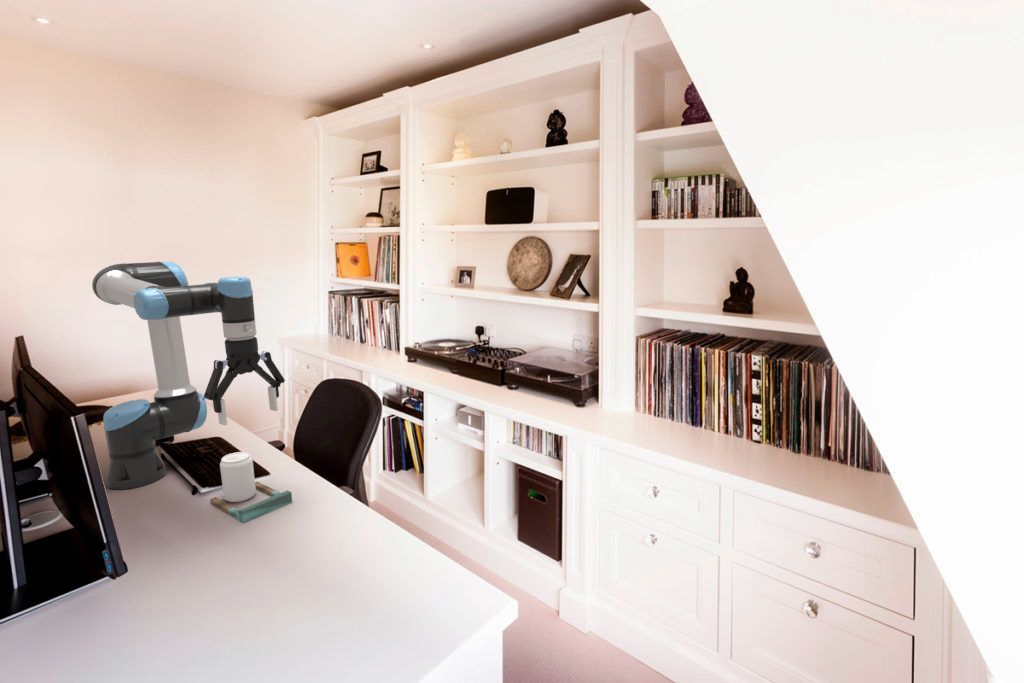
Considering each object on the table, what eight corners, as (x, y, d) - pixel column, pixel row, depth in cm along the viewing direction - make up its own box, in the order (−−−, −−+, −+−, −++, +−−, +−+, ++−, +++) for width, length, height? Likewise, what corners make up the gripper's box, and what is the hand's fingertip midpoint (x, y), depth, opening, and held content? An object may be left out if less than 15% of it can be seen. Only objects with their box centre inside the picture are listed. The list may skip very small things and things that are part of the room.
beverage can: (243, 505, 148) (238, 463, 146) (217, 502, 150) (212, 461, 148) (262, 491, 156) (258, 452, 154) (237, 489, 158) (233, 450, 156)
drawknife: (210, 503, 150) (209, 493, 149) (258, 485, 160) (257, 475, 160) (243, 523, 139) (242, 512, 138) (292, 502, 150) (291, 492, 149)
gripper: (196, 347, 127) (207, 433, 131) (293, 331, 147) (300, 407, 151) (181, 344, 132) (192, 427, 136) (278, 329, 151) (285, 402, 155)
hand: (249, 416), depth 143 cm, fingers open, 13 cm apart
